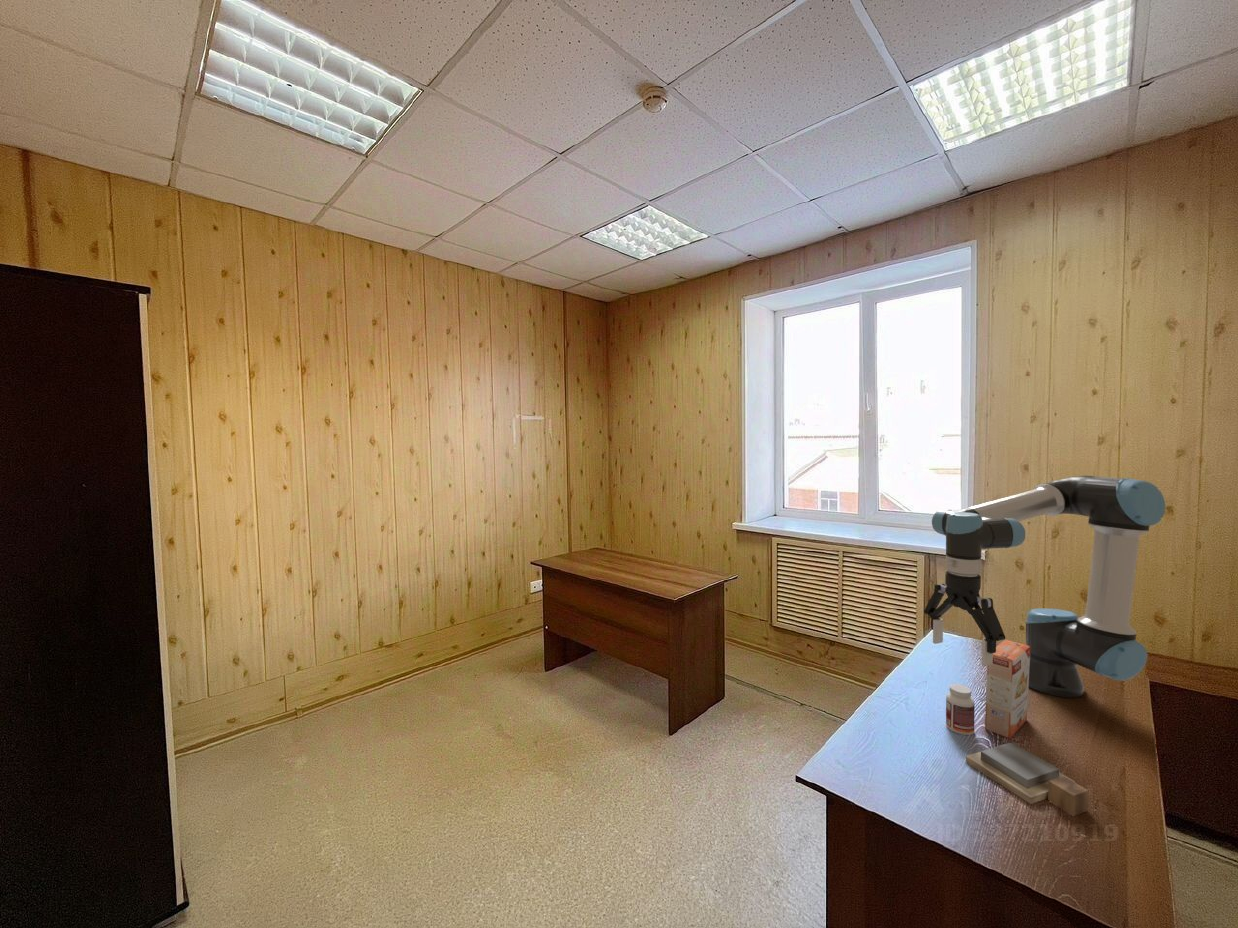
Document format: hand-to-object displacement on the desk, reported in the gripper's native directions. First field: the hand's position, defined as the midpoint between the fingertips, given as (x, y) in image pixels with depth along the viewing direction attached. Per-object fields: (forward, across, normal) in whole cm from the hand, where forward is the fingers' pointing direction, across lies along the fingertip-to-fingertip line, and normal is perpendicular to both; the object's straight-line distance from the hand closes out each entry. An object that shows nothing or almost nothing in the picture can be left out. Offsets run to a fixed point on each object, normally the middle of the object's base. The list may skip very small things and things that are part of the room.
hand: (961, 652), depth 128 cm
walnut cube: (+18, +24, -4) cm, 31 cm away
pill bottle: (+21, 0, 0) cm, 21 cm away
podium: (+21, +17, -4) cm, 27 cm away
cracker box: (+21, +3, +13) cm, 25 cm away
